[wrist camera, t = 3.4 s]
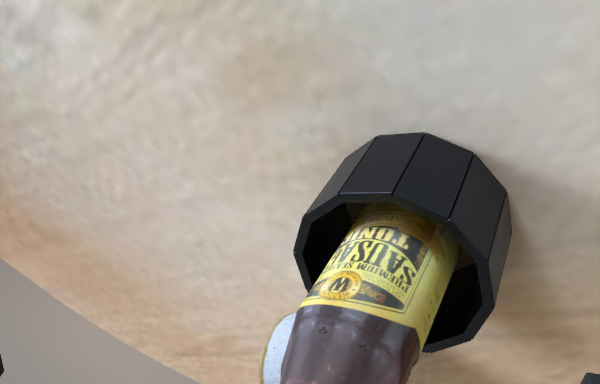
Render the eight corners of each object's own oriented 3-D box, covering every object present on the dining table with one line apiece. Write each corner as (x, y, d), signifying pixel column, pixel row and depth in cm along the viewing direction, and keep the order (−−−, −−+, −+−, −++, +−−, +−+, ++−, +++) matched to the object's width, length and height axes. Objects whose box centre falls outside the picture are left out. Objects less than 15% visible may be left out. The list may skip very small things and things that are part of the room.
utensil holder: (357, 273, 40) (322, 339, 36) (318, 139, 35) (271, 194, 31) (518, 284, 35) (503, 363, 30) (499, 126, 30) (477, 191, 25)
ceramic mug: (287, 290, 45) (240, 364, 39) (385, 307, 41) (348, 392, 35) (311, 377, 50) (273, 453, 44) (399, 399, 46) (370, 485, 41)
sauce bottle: (461, 165, 32) (332, 481, 17) (478, 251, 35) (380, 587, 20) (357, 171, 35) (176, 441, 21) (381, 250, 38) (236, 537, 24)
